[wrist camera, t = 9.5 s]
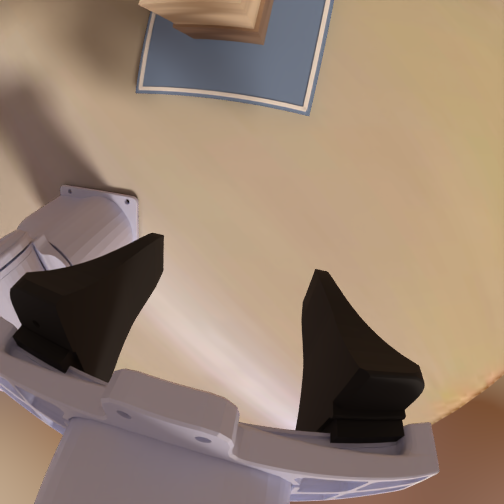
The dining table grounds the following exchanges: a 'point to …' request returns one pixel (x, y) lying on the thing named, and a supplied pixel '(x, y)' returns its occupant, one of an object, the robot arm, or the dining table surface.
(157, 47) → the board
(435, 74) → the dining table surface
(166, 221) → the dining table surface
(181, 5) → the maple block
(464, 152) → the dining table surface
